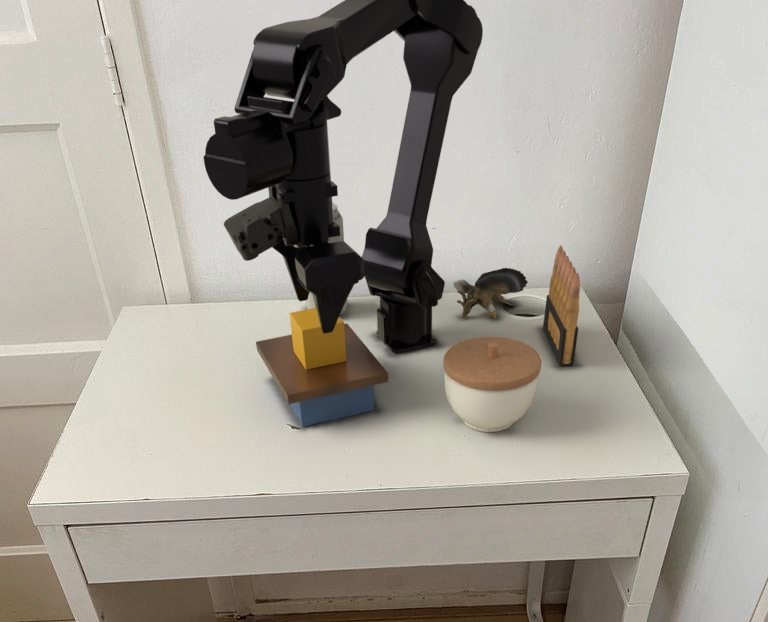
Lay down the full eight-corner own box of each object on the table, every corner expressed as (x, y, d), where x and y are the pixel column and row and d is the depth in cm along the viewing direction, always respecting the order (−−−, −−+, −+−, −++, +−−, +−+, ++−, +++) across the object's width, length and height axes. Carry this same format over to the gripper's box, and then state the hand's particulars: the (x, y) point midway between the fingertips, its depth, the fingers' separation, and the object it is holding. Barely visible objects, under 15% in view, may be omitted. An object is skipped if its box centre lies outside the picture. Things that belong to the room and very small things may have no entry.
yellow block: (332, 343, 95) (329, 304, 92) (346, 361, 92) (344, 322, 88) (293, 351, 94) (289, 312, 91) (305, 370, 90) (301, 330, 87)
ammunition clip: (573, 366, 100) (586, 275, 92) (559, 366, 100) (571, 276, 92) (555, 328, 108) (566, 242, 100) (542, 329, 108) (552, 243, 100)
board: (347, 331, 100) (347, 323, 99) (388, 382, 90) (388, 372, 89) (256, 350, 97) (255, 341, 96) (288, 404, 87) (287, 395, 86)
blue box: (341, 365, 102) (339, 337, 99) (374, 410, 93) (373, 380, 90) (274, 379, 99) (270, 351, 97) (302, 427, 90) (298, 397, 88)
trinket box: (449, 446, 87) (451, 372, 81) (436, 397, 95) (437, 325, 89) (544, 440, 87) (554, 365, 81) (523, 391, 95) (530, 319, 89)
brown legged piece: (487, 324, 107) (537, 296, 109) (465, 276, 105) (515, 248, 108) (461, 333, 114) (508, 306, 117) (440, 288, 112) (488, 262, 115)
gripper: (205, 159, 84) (227, 297, 94) (247, 212, 71) (268, 366, 80) (304, 146, 87) (315, 281, 97) (363, 194, 74) (369, 345, 83)
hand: (314, 315), depth 89 cm, fingers open, 9 cm apart
